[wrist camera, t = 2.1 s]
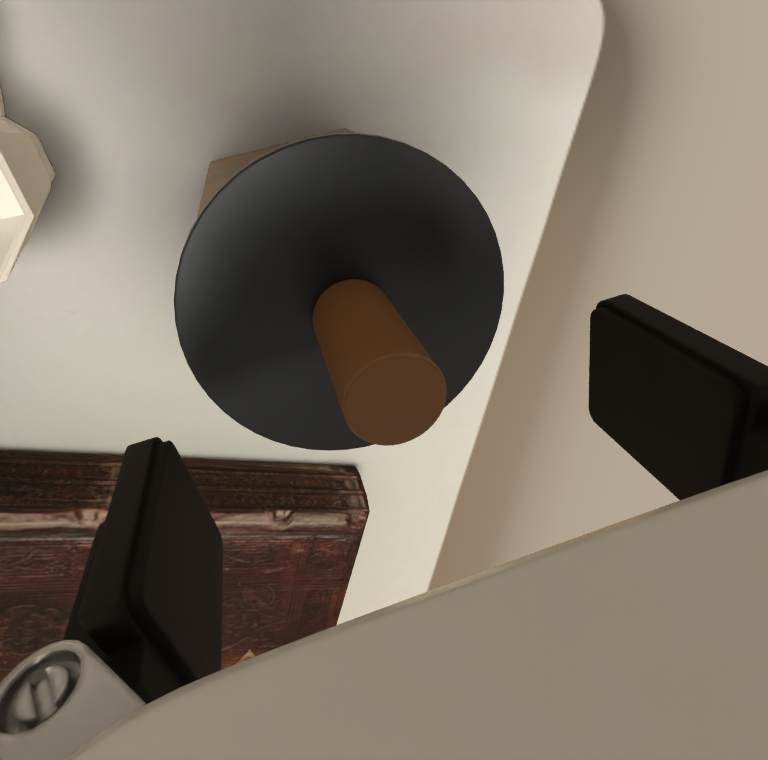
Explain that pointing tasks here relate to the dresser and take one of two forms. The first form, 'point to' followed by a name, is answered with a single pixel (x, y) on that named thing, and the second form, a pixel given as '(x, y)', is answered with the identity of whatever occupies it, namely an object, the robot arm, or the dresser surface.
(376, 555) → the dresser surface
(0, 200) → the cup
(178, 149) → the dresser surface
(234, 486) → the book
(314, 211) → the lid
